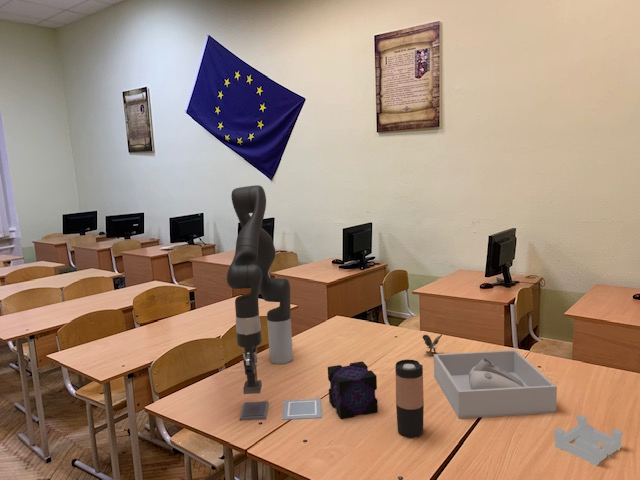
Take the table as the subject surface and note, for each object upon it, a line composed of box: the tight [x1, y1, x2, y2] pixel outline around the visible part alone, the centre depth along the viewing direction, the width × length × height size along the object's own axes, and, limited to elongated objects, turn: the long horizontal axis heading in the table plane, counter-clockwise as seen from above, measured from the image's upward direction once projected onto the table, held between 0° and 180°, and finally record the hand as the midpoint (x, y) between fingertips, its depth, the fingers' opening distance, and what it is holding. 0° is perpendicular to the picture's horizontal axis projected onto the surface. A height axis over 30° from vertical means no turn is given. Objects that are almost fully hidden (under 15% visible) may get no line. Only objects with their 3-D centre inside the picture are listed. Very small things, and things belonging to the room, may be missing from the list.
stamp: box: [242, 364, 263, 395], centre depth 152 cm, size 5×5×8 cm
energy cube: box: [327, 361, 379, 420], centre depth 154 cm, size 12×12×12 cm
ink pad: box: [239, 400, 270, 421], centre depth 154 cm, size 10×8×1 cm
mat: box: [281, 398, 323, 421], centre depth 154 cm, size 12×12×1 cm
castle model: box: [553, 414, 624, 466], centre depth 126 cm, size 15×15×7 cm
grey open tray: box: [433, 349, 558, 419], centre depth 158 cm, size 29×29×8 cm
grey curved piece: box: [469, 358, 525, 390], centre depth 158 cm, size 16×17×11 cm
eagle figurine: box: [422, 333, 443, 357], centre depth 193 cm, size 8×7×9 cm
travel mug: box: [394, 359, 425, 439], centre depth 137 cm, size 8×8×20 cm
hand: (252, 381), depth 153 cm, fingers closed on stamp, 3 cm apart
